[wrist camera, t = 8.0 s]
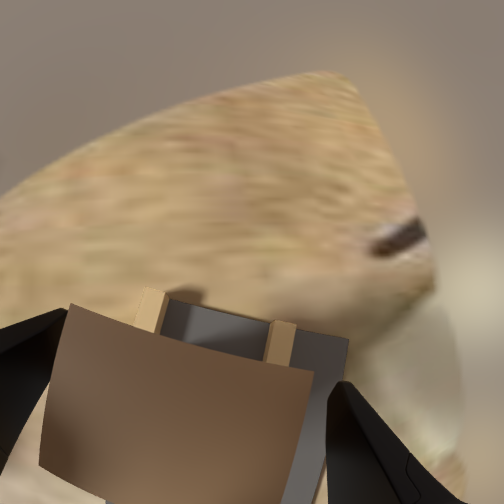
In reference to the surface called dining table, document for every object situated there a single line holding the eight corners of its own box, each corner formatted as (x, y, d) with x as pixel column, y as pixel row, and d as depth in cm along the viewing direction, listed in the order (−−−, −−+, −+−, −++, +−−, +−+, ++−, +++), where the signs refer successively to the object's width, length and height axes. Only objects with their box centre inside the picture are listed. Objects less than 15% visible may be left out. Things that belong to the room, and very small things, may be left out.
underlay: (295, 539, 12) (303, 552, 10) (107, 501, 12) (97, 512, 10) (346, 339, 17) (359, 335, 16) (152, 294, 17) (144, 286, 15)
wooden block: (233, 425, 14) (268, 538, 3) (155, 404, 14) (38, 465, 3) (247, 368, 16) (314, 371, 5) (169, 347, 16) (70, 303, 5)
